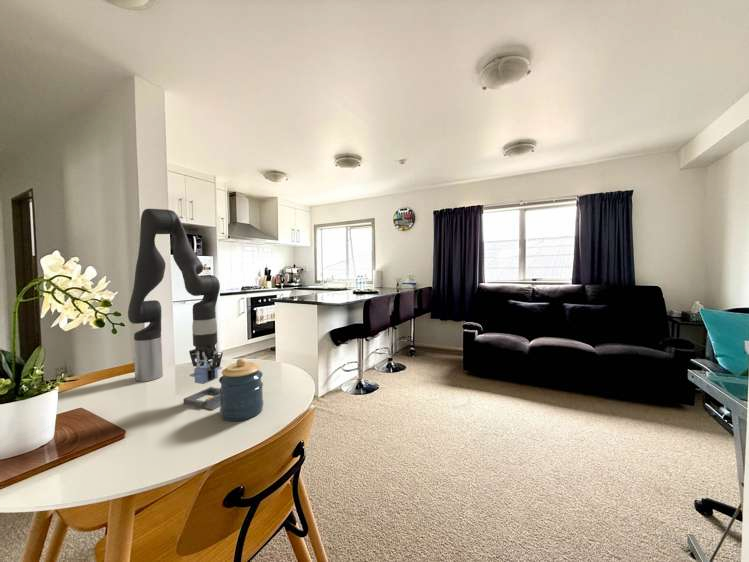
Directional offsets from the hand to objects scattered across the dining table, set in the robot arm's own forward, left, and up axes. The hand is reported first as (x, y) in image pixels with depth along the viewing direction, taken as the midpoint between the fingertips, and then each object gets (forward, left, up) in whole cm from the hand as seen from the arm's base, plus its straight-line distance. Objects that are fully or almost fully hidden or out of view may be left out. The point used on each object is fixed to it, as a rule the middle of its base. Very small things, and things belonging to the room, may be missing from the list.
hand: (206, 378), depth 107 cm
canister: (+19, -3, -8) cm, 21 cm away
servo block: (0, 0, -1) cm, 1 cm away
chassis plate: (+2, 0, -8) cm, 8 cm away
